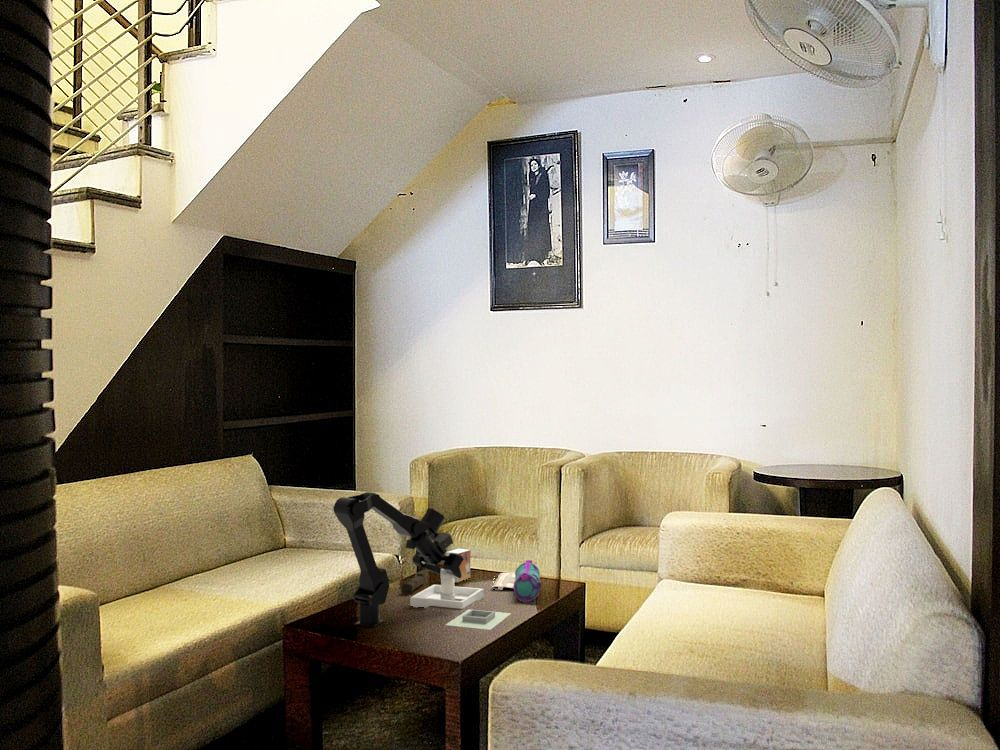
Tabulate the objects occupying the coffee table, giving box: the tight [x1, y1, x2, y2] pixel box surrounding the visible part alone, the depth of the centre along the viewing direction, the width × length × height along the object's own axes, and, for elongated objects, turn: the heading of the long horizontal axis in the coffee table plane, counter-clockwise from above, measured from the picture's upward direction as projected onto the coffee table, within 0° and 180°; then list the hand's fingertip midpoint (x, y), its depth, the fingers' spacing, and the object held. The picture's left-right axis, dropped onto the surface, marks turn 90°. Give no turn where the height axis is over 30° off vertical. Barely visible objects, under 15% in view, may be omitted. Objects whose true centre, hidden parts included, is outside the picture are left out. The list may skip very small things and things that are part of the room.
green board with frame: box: [445, 609, 512, 631], centre depth 252 cm, size 18×14×2 cm
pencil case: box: [513, 559, 542, 603], centre depth 284 cm, size 21×9×10 cm, turn 178°
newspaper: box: [491, 572, 515, 591], centre depth 300 cm, size 23×12×2 cm, turn 172°
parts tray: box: [409, 584, 485, 610], centre depth 275 cm, size 18×18×3 cm
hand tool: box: [400, 570, 427, 595], centre depth 294 cm, size 19×4×5 cm, turn 163°
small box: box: [445, 548, 471, 583], centre depth 306 cm, size 8×6×10 cm
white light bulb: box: [439, 567, 456, 601], centre depth 275 cm, size 5×5×10 cm
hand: (450, 575), depth 276 cm, fingers open, 9 cm apart
